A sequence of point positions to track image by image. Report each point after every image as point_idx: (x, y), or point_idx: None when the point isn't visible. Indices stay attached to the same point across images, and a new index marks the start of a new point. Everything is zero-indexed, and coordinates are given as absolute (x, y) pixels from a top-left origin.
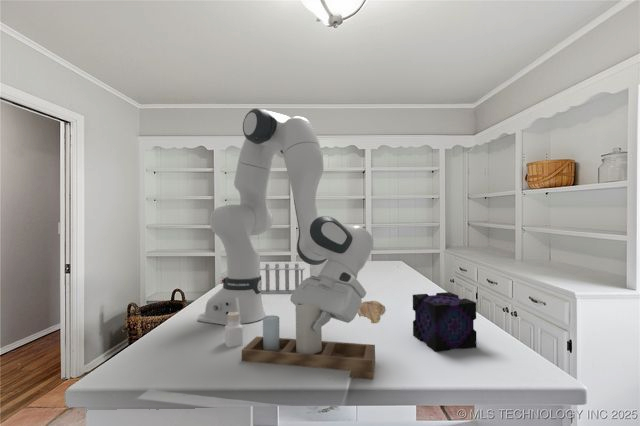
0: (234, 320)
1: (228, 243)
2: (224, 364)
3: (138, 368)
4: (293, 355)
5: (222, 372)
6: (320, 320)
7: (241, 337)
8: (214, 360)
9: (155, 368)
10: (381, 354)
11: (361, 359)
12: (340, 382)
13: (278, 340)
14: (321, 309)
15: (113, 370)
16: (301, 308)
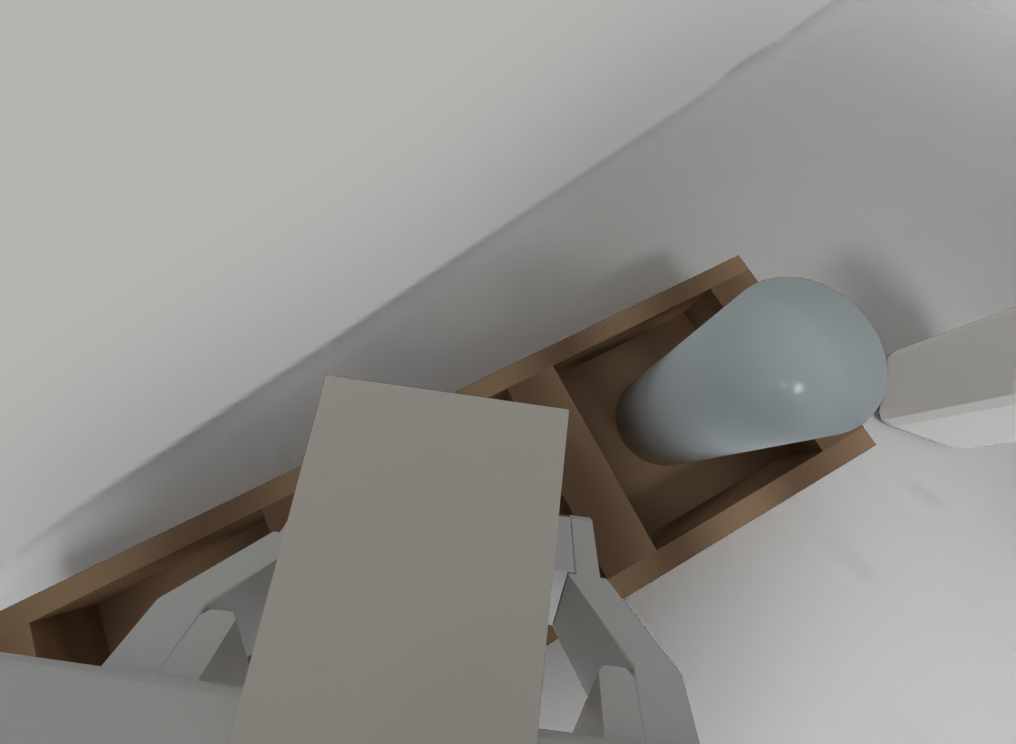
0: None
1: None
2: (774, 270)
3: (956, 78)
4: (470, 387)
5: (709, 224)
6: (240, 556)
7: (944, 399)
8: (844, 267)
9: (918, 107)
10: None
11: (37, 597)
12: (218, 466)
13: (650, 416)
14: (189, 680)
15: (990, 32)
16: (419, 389)
